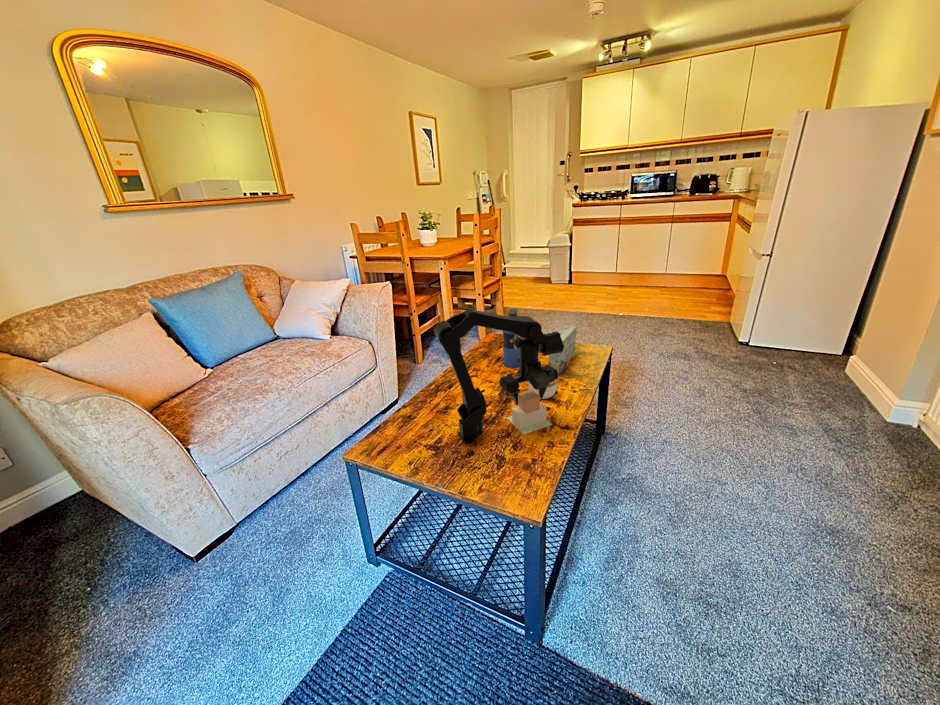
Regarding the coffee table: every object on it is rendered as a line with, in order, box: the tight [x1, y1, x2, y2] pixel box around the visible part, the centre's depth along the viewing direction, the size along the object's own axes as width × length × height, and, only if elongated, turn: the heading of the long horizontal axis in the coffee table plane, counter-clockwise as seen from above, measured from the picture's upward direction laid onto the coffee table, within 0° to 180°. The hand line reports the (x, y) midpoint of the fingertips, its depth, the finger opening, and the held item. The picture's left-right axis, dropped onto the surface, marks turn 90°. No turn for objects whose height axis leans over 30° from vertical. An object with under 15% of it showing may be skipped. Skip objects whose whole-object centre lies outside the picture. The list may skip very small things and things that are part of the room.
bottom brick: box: [511, 402, 547, 429], centre depth 129 cm, size 10×5×5 cm, turn 114°
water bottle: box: [501, 308, 524, 369], centre depth 169 cm, size 9×9×25 cm
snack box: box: [547, 324, 578, 377], centre depth 167 cm, size 21×6×15 cm, turn 150°
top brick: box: [517, 389, 541, 414], centre depth 127 cm, size 5×5×5 cm
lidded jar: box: [527, 378, 559, 400], centre depth 145 cm, size 11×11×9 cm
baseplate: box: [506, 415, 553, 435], centre depth 130 cm, size 11×11×1 cm
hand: (528, 401), depth 127 cm, fingers open, 9 cm apart
